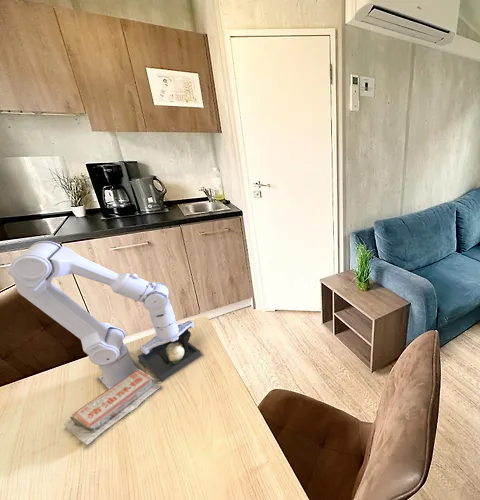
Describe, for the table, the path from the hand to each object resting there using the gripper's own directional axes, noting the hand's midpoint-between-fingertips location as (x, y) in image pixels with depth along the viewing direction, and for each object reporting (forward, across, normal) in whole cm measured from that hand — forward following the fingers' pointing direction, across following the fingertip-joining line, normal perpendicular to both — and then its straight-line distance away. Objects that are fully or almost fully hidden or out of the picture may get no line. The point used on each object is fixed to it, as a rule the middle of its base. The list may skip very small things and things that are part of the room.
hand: (175, 356), depth 90 cm
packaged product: (+2, -18, -3) cm, 18 cm away
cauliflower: (+1, 0, 0) cm, 1 cm away
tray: (+2, 0, +3) cm, 4 cm away
